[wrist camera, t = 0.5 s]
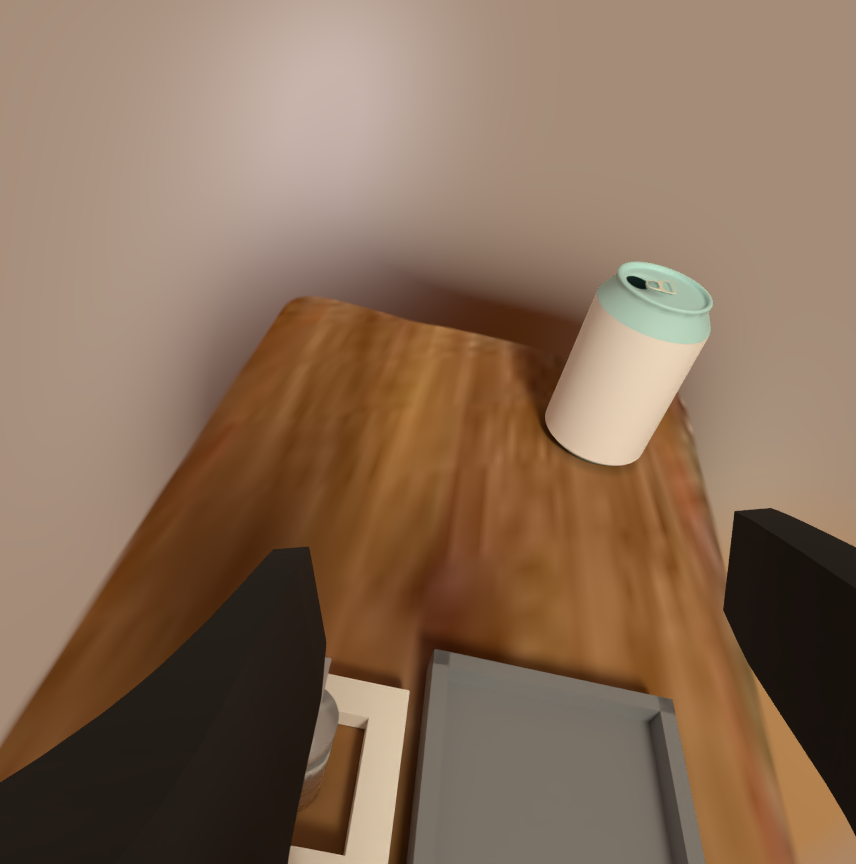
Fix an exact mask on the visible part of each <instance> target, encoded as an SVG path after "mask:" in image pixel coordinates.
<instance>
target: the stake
mask: <svg viewBox="0 0 856 864" xmlns="http://www.w3.org/2000/svg"><path fill="white" fill-rule="evenodd" d="M331 659H332V658H328V657H325V665H324V677H323V687H322V698H321V703H320V708H319V712H318V717H317V722H316V727H315V732H314V736H313V741H312V746H311V750H310V755H309V760H308V764H307V769H306V773H305V778H304V783H303V787H302V792H301V797H300V801H299V806H298V810H297V812H299V811H301V810H303V809H305V808H306V807H308V806H309V805H310V804H311V803H312V802H313V801H314V799H315V798H316V796H317V795H318V792H319V790H320V787H321V783H322V779H323V776H324V772H325V769H326V765H327V761H328V758H329V754H330V751H331V747H332V743H333V740H334V736H335V733H336V729H337V725H338V720H339V712H338V707H337V704H336V702H335V700H334V698H333V697H332V695H331V694H330V693H329V692H328V691H327V690H325V685H326V681H327V676H328V672H329V668H330V664H331Z"/></svg>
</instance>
